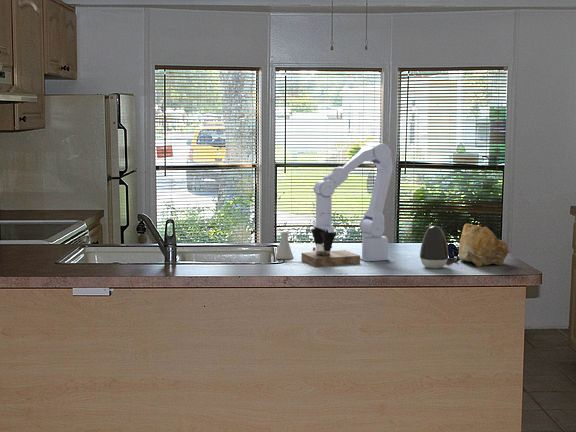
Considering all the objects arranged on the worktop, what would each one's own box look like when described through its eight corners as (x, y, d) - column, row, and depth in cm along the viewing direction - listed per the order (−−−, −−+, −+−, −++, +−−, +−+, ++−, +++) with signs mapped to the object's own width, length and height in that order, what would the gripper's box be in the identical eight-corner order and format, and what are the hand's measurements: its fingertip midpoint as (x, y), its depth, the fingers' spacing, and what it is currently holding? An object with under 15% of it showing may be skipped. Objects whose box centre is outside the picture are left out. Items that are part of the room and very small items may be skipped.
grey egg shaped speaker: (442, 264, 340) (443, 223, 338) (452, 269, 329) (453, 227, 328) (415, 265, 338) (416, 224, 336) (424, 270, 328) (425, 228, 326)
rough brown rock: (514, 271, 330) (519, 230, 329) (469, 268, 329) (473, 226, 328) (497, 262, 353) (501, 223, 352) (454, 258, 353) (458, 220, 351)
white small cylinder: (327, 260, 345) (327, 242, 344) (332, 262, 340) (332, 244, 339) (314, 260, 343) (314, 243, 342) (319, 263, 338) (319, 245, 337)
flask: (291, 260, 346) (291, 234, 345) (272, 259, 348) (273, 233, 347) (295, 257, 354) (295, 231, 352) (276, 256, 355) (277, 230, 354)
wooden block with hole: (345, 257, 352) (345, 250, 351) (360, 263, 340) (360, 255, 339) (301, 260, 345) (301, 252, 345) (315, 266, 333) (315, 258, 333)
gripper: (306, 211, 344) (305, 246, 346) (321, 215, 331) (321, 253, 333) (323, 210, 347) (322, 245, 349) (339, 214, 334) (339, 251, 335)
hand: (323, 249), depth 341 cm, fingers open, 7 cm apart
